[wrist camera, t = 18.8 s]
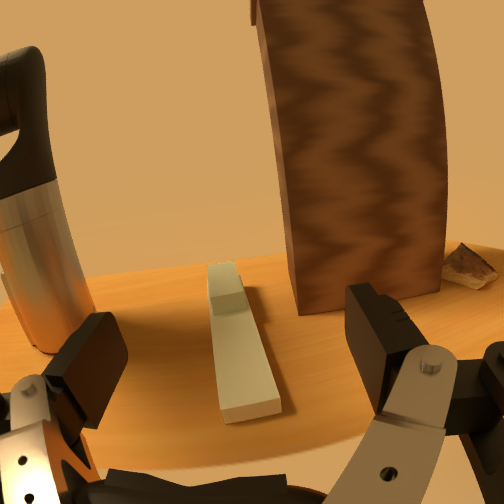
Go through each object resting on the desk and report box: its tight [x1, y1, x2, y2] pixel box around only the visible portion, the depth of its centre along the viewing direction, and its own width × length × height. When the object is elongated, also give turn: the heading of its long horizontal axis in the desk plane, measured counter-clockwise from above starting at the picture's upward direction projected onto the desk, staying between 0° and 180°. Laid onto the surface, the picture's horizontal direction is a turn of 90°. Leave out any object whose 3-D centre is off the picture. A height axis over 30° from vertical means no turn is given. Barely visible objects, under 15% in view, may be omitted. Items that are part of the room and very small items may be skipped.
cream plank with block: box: [207, 260, 282, 424], centre depth 28 cm, size 4×20×4 cm, turn 9°
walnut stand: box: [250, 0, 448, 315], centre depth 29 cm, size 17×11×32 cm, turn 90°
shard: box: [441, 243, 498, 290], centre depth 32 cm, size 11×8×2 cm
